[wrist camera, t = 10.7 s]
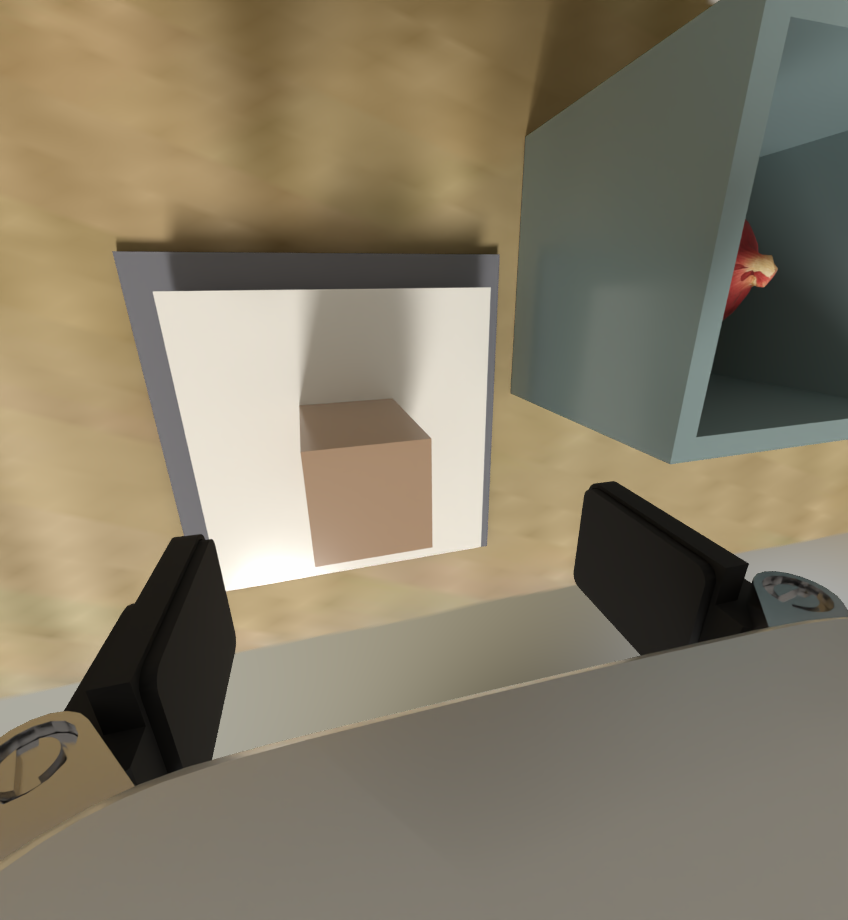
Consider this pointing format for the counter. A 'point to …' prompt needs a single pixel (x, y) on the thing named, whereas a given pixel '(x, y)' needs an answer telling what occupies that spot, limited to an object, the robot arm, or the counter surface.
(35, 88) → the counter surface
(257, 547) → the lid
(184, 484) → the mat
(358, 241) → the counter surface
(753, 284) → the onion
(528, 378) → the teal storage bin
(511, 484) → the counter surface
